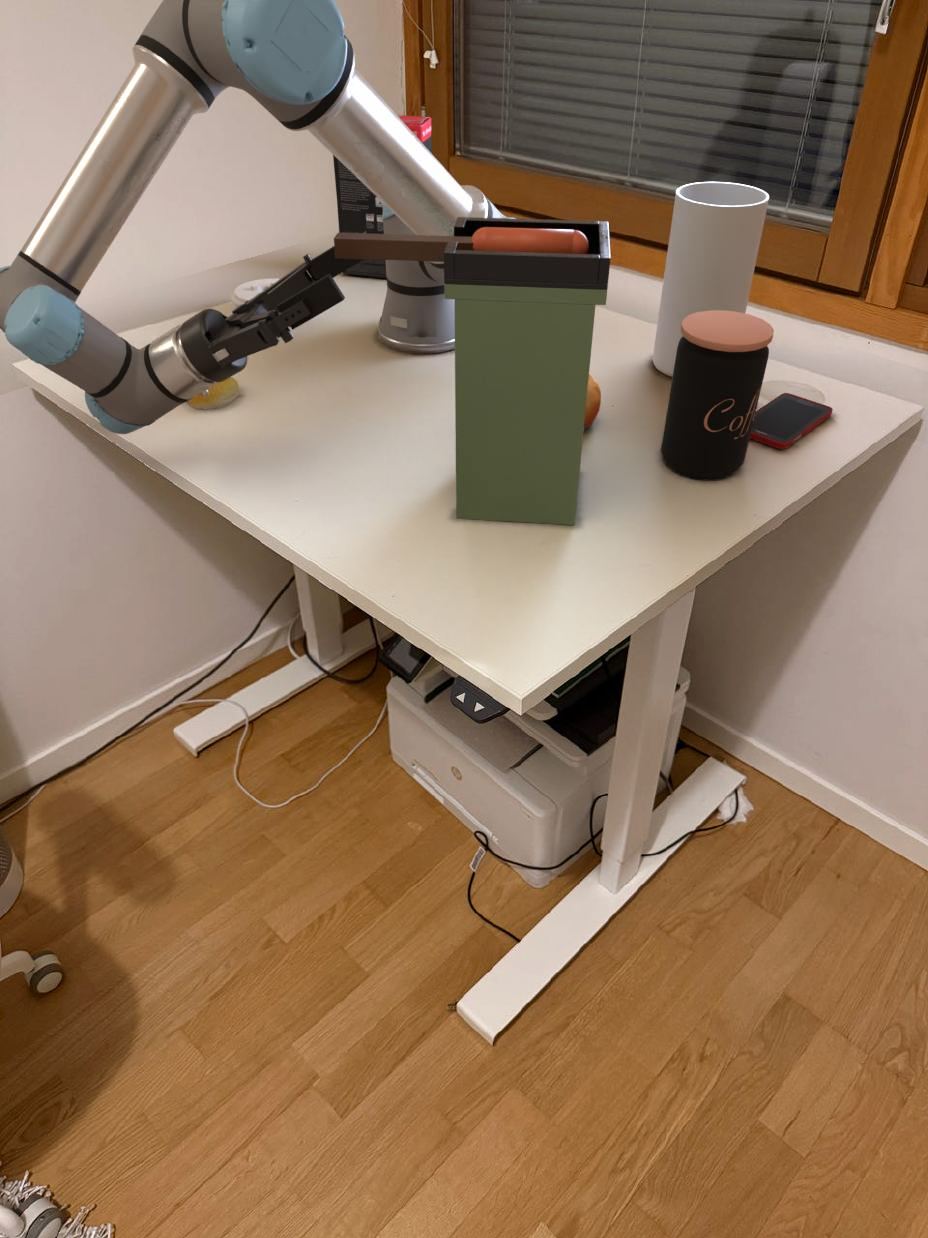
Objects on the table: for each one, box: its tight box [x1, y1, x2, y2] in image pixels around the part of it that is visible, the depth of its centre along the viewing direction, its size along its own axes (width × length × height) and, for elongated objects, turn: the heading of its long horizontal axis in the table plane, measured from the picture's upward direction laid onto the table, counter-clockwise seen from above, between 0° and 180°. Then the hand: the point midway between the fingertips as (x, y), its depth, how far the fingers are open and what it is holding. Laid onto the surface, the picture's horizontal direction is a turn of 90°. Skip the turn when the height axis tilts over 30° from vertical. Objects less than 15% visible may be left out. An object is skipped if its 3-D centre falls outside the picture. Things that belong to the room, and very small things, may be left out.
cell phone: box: [750, 392, 833, 450], centre depth 122 cm, size 8×15×1 cm, turn 137°
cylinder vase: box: [652, 181, 770, 378], centre depth 129 cm, size 12×12×25 cm
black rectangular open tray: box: [444, 217, 612, 291], centre depth 90 cm, size 16×12×3 cm
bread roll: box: [186, 376, 240, 410], centre depth 128 cm, size 8×9×4 cm
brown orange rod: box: [333, 227, 589, 262], centre depth 90 cm, size 26×3×3 cm, turn 84°
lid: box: [229, 278, 281, 311], centre depth 152 cm, size 13×13×5 cm
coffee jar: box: [660, 310, 775, 481], centre depth 109 cm, size 11×11×18 cm
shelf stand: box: [444, 284, 608, 526], centre depth 99 cm, size 16×12×28 cm
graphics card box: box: [332, 114, 433, 279], centre depth 161 cm, size 17×7×27 cm, turn 77°
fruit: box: [584, 373, 602, 429], centre depth 121 cm, size 8×8×8 cm
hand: (351, 263), depth 92 cm, fingers open, 13 cm apart
